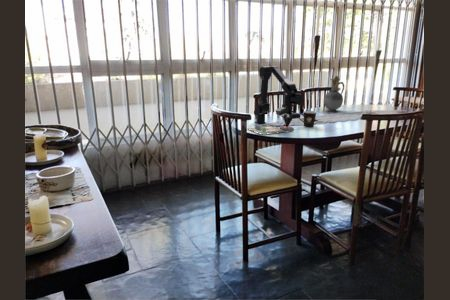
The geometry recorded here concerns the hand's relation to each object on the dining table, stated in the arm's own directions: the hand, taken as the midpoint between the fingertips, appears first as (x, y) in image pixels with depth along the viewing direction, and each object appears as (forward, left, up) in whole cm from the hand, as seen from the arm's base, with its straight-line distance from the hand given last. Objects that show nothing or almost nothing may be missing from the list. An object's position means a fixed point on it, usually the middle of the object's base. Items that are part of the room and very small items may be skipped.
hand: (286, 126), depth 212 cm
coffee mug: (-4, +21, -3) cm, 21 cm away
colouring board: (-4, -13, -2) cm, 14 cm away
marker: (-4, -18, -1) cm, 18 cm away
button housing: (0, 0, -2) cm, 2 cm away
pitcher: (-39, +80, -3) cm, 89 cm away
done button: (0, 0, -2) cm, 2 cm away
